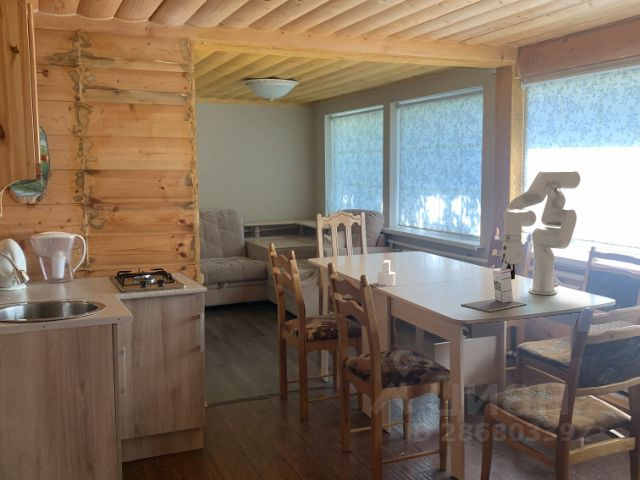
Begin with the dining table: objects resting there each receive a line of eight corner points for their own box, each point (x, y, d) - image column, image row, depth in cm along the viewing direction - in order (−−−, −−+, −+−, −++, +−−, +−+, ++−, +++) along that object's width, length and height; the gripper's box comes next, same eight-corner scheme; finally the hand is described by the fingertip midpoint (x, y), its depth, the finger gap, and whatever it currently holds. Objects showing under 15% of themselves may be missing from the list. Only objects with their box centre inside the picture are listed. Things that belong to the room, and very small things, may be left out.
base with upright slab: (394, 286, 325) (394, 262, 323) (376, 285, 327) (377, 262, 325) (396, 282, 334) (396, 260, 332) (378, 282, 335) (379, 259, 334)
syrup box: (513, 300, 284) (511, 268, 282) (502, 303, 282) (499, 271, 280) (505, 298, 289) (503, 266, 287) (494, 300, 288) (492, 269, 285)
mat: (497, 298, 294) (497, 297, 294) (526, 305, 281) (526, 303, 281) (460, 305, 280) (460, 304, 280) (489, 312, 267) (489, 310, 267)
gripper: (508, 240, 277) (506, 281, 279) (530, 238, 286) (528, 278, 288) (494, 238, 284) (493, 279, 286) (516, 236, 292) (514, 276, 294)
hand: (510, 278), depth 287 cm, fingers closed
